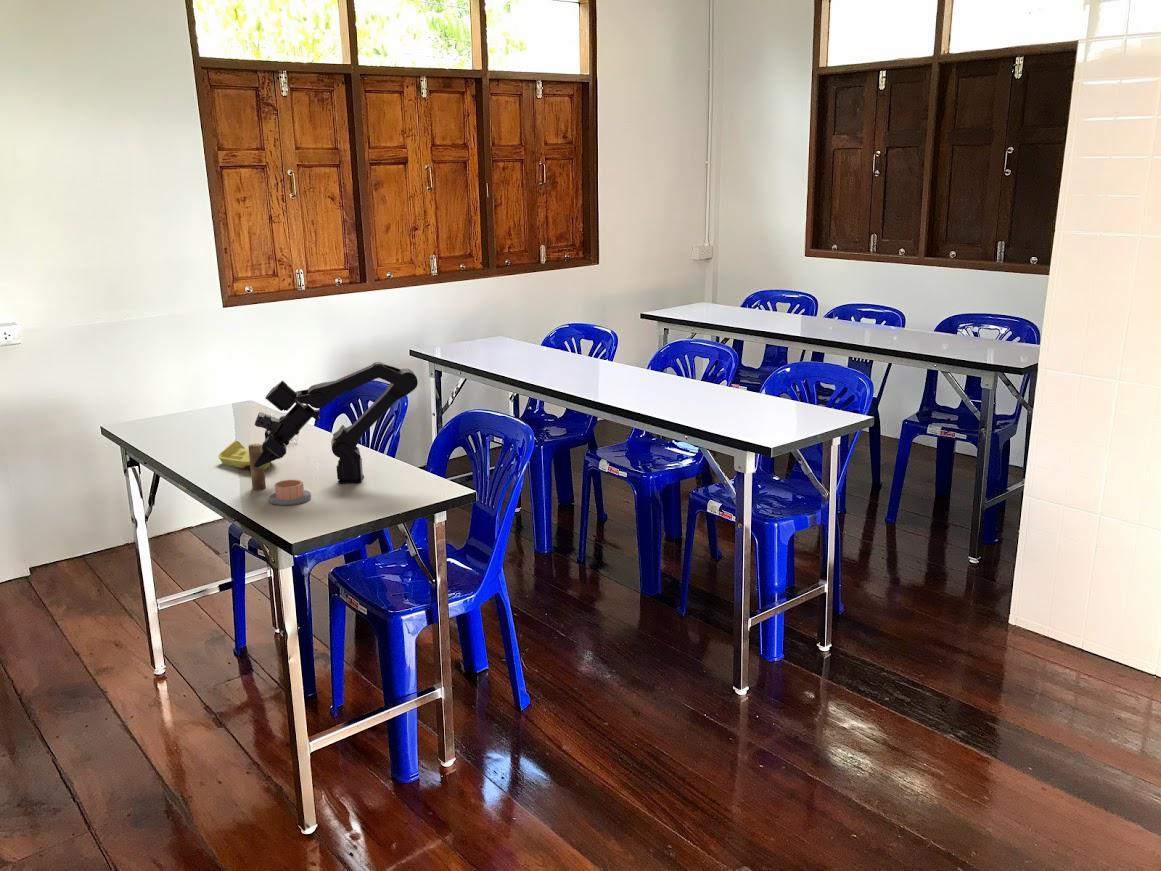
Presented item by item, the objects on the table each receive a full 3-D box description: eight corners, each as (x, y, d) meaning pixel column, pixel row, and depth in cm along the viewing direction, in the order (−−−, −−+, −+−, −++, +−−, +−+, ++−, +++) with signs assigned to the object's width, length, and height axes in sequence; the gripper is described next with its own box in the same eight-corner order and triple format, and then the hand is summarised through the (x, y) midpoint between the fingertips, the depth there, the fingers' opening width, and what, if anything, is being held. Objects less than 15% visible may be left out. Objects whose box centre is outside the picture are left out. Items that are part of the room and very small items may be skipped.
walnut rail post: (267, 485, 276) (263, 443, 273) (264, 489, 272) (260, 447, 269) (254, 486, 275) (250, 443, 272) (251, 490, 272) (246, 447, 269)
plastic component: (215, 457, 296) (238, 437, 302) (227, 475, 300) (250, 455, 306) (253, 463, 284) (277, 442, 290) (266, 482, 288) (289, 461, 294)
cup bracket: (314, 492, 270) (313, 476, 269) (306, 505, 259) (305, 489, 258) (274, 493, 269) (273, 478, 268) (264, 506, 258) (263, 490, 257)
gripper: (272, 395, 278) (235, 435, 278) (269, 410, 260) (230, 452, 260) (302, 420, 282) (266, 459, 282) (302, 436, 264) (263, 478, 264)
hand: (255, 462), depth 272 cm, fingers open, 9 cm apart
